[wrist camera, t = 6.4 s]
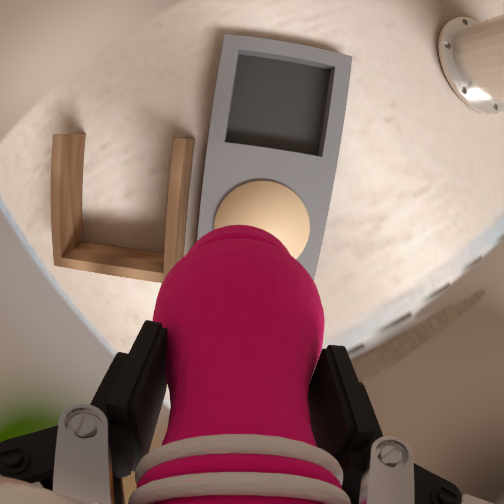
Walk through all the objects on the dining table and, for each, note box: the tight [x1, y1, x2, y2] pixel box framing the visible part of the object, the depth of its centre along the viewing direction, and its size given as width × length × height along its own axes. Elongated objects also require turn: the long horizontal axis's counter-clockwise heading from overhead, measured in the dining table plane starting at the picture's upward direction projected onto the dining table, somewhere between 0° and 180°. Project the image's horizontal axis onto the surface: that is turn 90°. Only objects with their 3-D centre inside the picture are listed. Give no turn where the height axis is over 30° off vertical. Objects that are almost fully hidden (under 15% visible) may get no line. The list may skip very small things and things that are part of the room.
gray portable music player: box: [197, 34, 352, 281], centre depth 29 cm, size 12×24×2 cm, turn 172°
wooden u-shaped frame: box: [51, 134, 195, 283], centre depth 29 cm, size 13×13×5 cm
